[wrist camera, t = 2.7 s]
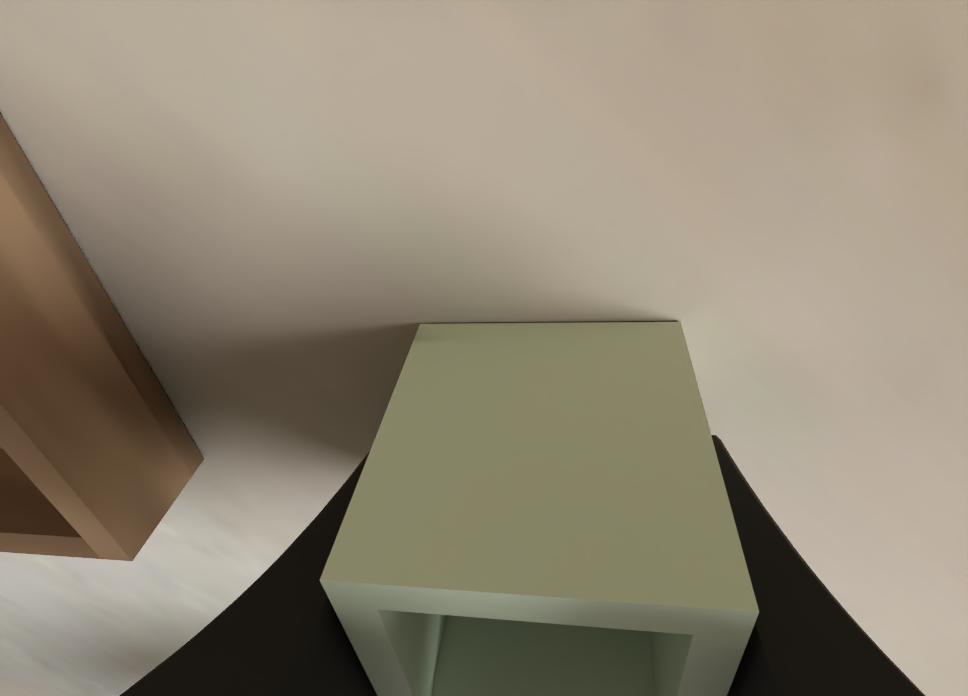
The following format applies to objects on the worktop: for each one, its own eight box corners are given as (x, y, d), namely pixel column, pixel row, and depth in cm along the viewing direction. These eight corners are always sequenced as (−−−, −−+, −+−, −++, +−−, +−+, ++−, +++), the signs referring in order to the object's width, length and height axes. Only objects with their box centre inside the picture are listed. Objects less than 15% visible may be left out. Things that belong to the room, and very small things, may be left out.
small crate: (656, 494, 13) (696, 771, 9) (452, 485, 14) (397, 736, 10) (680, 321, 10) (759, 612, 6) (419, 324, 11) (320, 580, 7)
